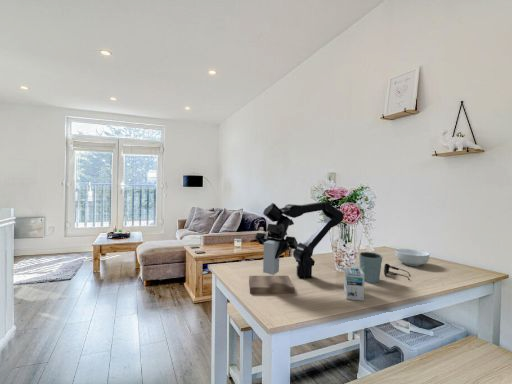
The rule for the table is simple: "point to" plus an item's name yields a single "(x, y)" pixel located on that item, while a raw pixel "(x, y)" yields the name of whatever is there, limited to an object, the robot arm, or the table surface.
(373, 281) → the grey green cup
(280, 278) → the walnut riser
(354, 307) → the table surface
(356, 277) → the light bulb box
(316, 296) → the table surface
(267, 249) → the slate block
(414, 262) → the cereal bowl
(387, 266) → the sunglasses
